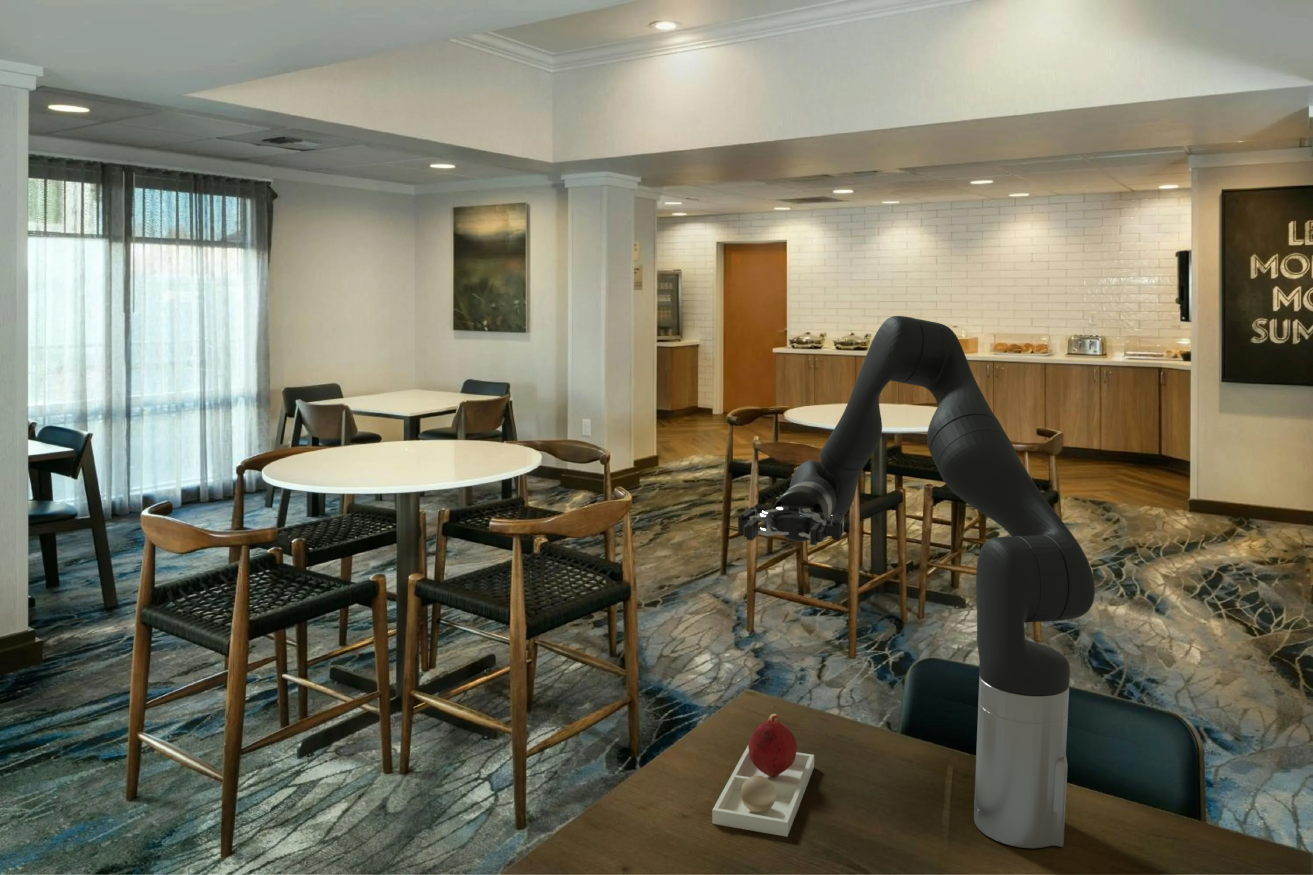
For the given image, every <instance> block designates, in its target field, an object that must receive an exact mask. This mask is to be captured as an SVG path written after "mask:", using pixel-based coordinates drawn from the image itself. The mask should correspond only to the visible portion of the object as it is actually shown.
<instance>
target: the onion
mask: <svg viewBox="0 0 1313 875" xmlns="http://www.w3.org/2000/svg"><path fill="white" fill-rule="evenodd" d="M748 745H749V746H748ZM748 745H747V746H748V749H749V755H750V758H751V760H752V762H753V764H754V765H755V766H756V767H757V768H758V769H759V770H760V771H761V772H763V773H764V774H766V775H768V776H770V777H777V776H778V775H779V774H781V773H782V772H784V771H785V770H787V769H788V768H789V767H790V766H791V765H792V764H793V762H794V760H795V757H796V752H798V746H797V741H796V738H795V736H794V735H793V733H792V732H791V730H790V729H789V728H788V727H787V726H786V725H785V724H784V723H782V722H780V716H779V715H778V714H776V713H771V714H770V715H769V717H768V718H767V719H766V721H764V722H762V723H760V724H759V725H757V727H756V728H755V729H754V730H753V732H752V734H751V736H750V738H749V741H748Z"/></svg>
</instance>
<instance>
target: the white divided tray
mask: <svg viewBox="0 0 1313 875" xmlns="http://www.w3.org/2000/svg"><path fill="white" fill-rule="evenodd" d="M748 746H749V744H748V745H747V746H746V747H745V748H746V749H745V750H744V752H743V753H742V755H741V756H740V759H739V761H738V763H737V764H736V766H735V768H734V770H733V771H732V773H731V775H730V777H729V779H728V780H727V782H726V784H725V787H724V788H723V790H722V792H721V793H720V795H719V797H718V799H717V801H716V802H715V805H714V807H713V808H712V813H711V816H712V818H711V819H712V820H711V823H712V824H714V825H717V826H718V825H719V826H724V827H731V828H737V829H741V830H748V831H753V832H758V833H764V834H770V835H776V836H782V837H787V838H788V836H789V834H790V831H791V828H792V826H793V823H794V820H795V818H796V816H797V813H798V811H799V808H800V805H801V803H802V802H801V801H802V799H803V798H804V795H805V792H806V790H807V787H808V784H809V782H810V779H811V776H812V774H813V770H814V768H815V754H811V753H810V754H809V753H803V752H798V751H796V757H795V760H794V762H793V764H792V765H791V766H790V767H789V768H788V769H787V770H785V771H784V772H782V773H781V774H779V775H778V776H777V777H770V776H768V775H766V774H764V773H763V772H761V771H760V770H759V769H758V768H757V767H756V766H755V765H754V764H753V762H752V760H751V758H750V755H749V749H748ZM752 776H763V777H766V778H767V779H769V780H770V781H771V782H772V784H773V785H774V787H775V791H776V799H775V802H774V804H773V806H772V807H771V808H770V809H769V810H767V811H765V812H762V813H756V812H753V811H750V810H749V809H748V808H747V807H746V806H745V805H744V803H743V801H742V799H741V788H742V786H743V784H744V782H745V781H746V780H747V779H748V778H750V777H752Z"/></svg>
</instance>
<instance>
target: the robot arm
mask: <svg viewBox="0 0 1313 875" xmlns="http://www.w3.org/2000/svg"><path fill="white" fill-rule="evenodd" d="M891 381H892V382H897V383H901V384H905V385H906V384H907V385H912V386H918V387H923V388H925V389H927V390H928V391H929V393H931V394H932V396H933V397H934V399H935V402H936V404H937V408H936V410H935V411H934V413H933V416H932V418H931V419H930V423H929V425H928V428H927V433H926V434H927V435H926V439H927V440H926V441H927V442H926V444H927V448H928V451H929V453H930V455H931V458H932V460H933V462H934V465H935V466H936V468H937V470H938V472H939V475H940V476H941V478H942V480H943V482H944V483H945V484H946V486H947V487H948V489H949V490H950V491H951V492H952V493H954V494H955V495H956V496H957V497H958V498H960V499H961V500H962V501H963V502H965V503H966V504H967V505H969V506H970V507H972V508H974V509H975V510H976V511H978V512H979V513H981V514H983V515H984V516H985V517H988V518H989V519H991V520H992V521H993V522H995V523H996V524H998V525H999V526H1000V527H1002V528H1003V529H1004V531H1006V532H1007V533H1008V534H1009V535H1010V536H997V537H992V538H989V539H988V540H986V541H985V542H984V543H983V545H982V546H981V549H980V551H979V553H978V557H977V562H976V570H975V571H976V572H975V575H976V576H975V581H976V582H975V590H976V591H975V592H976V643H977V644H976V645H977V653H978V659H979V661H978V662H979V669H978V670H979V679H978V680H979V681H978V703H977V706H978V707H977V730H976V754H975V755H976V756H975V777H974V778H975V782H974V798H973V809H974V810H973V820H974V824H975V826H976V827H977V829H978V830H979V831H981V833H982V834H984V835H985V836H987V837H989V838H991V839H992V840H994V841H996V842H999V843H1002V844H1004V845H1008V846H1012V847H1017V848H1022V849H1041V848H1047V847H1052V846H1053V847H1055V846H1056V847H1064V842H1065V841H1064V840H1065V839H1064V838H1065V824H1066V821H1065V820H1066V803H1067V802H1066V800H1067V787H1068V786H1067V785H1068V784H1067V781H1068V760H1067V740H1068V739H1067V738H1068V721H1069V720H1068V719H1069V718H1068V715H1069V696H1070V682H1071V680H1070V678H1071V667H1070V663H1069V661H1068V659H1067V657H1066V656H1064V655H1063V654H1062V653H1060V652H1059V651H1057V650H1055V649H1054V648H1052V647H1049V646H1047V645H1044V644H1041V643H1038V642H1034V641H1031V640H1028V639H1026V636H1025V623H1040V622H1041V623H1043V622H1059V621H1068V620H1073V619H1074V620H1075V619H1077V618H1080V617H1082V616H1084V615H1086V614H1087V613H1088V612H1089V611H1090V610H1091V608H1092V606H1093V604H1094V600H1095V594H1096V587H1095V580H1094V579H1095V578H1094V575H1093V572H1092V568H1091V565H1090V562H1089V559H1088V558H1087V556H1086V554H1085V551H1084V550H1083V548H1082V547H1081V544H1080V543H1079V542H1078V541H1077V539H1076V537H1075V536H1074V535H1073V533H1072V532H1071V531H1070V529H1069V528H1068V527H1067V525H1066V524H1065V523H1064V522H1063V520H1062V519H1061V518H1060V516H1059V515H1058V514H1057V512H1056V511H1055V510H1054V509H1053V507H1052V506H1051V504H1050V503H1049V502H1048V501H1047V499H1046V498H1045V496H1044V495H1043V494H1042V492H1041V491H1040V489H1039V488H1038V486H1037V485H1036V483H1035V481H1034V480H1033V478H1032V477H1031V475H1030V474H1029V472H1028V471H1027V469H1026V468H1025V466H1024V464H1023V462H1022V461H1021V459H1020V457H1019V455H1018V453H1017V451H1016V449H1015V447H1014V446H1013V444H1012V442H1011V440H1010V438H1009V436H1008V435H1007V433H1006V431H1005V430H1004V428H1003V426H1002V424H1001V423H1000V420H998V419H997V417H996V416H995V414H994V412H993V410H992V409H991V408H990V405H989V403H988V402H987V400H986V397H985V396H984V394H983V391H982V390H981V388H980V387H979V384H978V382H977V381H976V378H975V377H974V375H973V372H972V370H971V367H970V364H969V361H968V358H967V356H966V354H965V352H964V348H963V346H962V344H961V342H960V340H959V337H958V336H957V335H956V333H955V332H954V331H953V329H951V328H950V327H949V326H947V325H945V324H943V323H939V322H935V321H930V320H925V319H920V318H914V317H910V316H905V315H904V316H903V315H893V316H889V317H888V318H887V319H885V321H883V323H882V324H881V325H880V327H879V328H878V330H877V331H876V333H875V335H874V337H873V339H872V341H871V343H870V345H869V348H868V351H867V353H866V355H865V358H864V361H863V363H862V366H861V368H860V371H859V373H858V374H857V378H856V380H855V382H854V383H855V384H854V386H853V388H852V390H851V391H852V392H851V394H850V397H849V399H848V402H847V405H846V406H845V408H844V411H843V413H842V415H841V416H840V419H839V420H838V423H837V424H836V426H835V428H834V429H833V430H832V432H831V434H830V435H829V437H828V439H827V440H826V442H825V443H824V445H823V446H822V449H821V451H820V455H819V456H820V457H819V458H820V461H821V462H820V461H817V460H815V459H814V460H813V459H811V460H806V461H805V462H802V463H801V464H800V465H799V466H798V467H797V469H796V470H795V471H794V473H793V474H792V477H791V480H790V483H789V488H788V489H787V490H786V491H785V492H784V493H783V494H782V495H781V496H779V498H778V499H777V500H776V501H775V504H774V506H773V507H772V508H771V509H767V510H762V511H761V512H760V513H758V510H757V507H754V506H753V507H752V506H751V507H748V508H746V509H745V510H743V511H742V512H740V513H739V514H738V515H737V532H738V533H739V534H743V537H745V538H746V540H747V541H751V542H752V541H754V540H755V539H756V538H757V537H758V536H759V535H761V536H762V535H763V536H766V537H773V536H777V535H778V536H779V535H782V536H783V537H784V538H786V539H788V540H790V541H793V542H806V541H809V542H810V543H809V544H810V546H817V545H818V543H822V542H824V541H826V540H828V539H827V538H828V537H831V539H832V540H834V541H839V540H842V536H843V534H844V532H845V531H844V530H845V529H844V528H845V515H846V514H847V512H849V510H850V508H851V507H852V504H853V501H854V499H855V496H856V491H857V486H858V483H859V482H858V481H859V478H860V475H861V474H862V471H863V469H864V467H865V466H866V465H867V463H868V461H869V460H870V459H871V457H872V455H874V453H875V451H876V449H877V448H878V446H879V443H880V441H881V438H882V433H883V423H882V422H883V420H882V415H881V408H880V396H881V393H882V391H883V390H884V389H885V387H887V385H888V384H889V382H891ZM759 523H760V528H759Z"/></svg>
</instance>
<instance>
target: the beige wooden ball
mask: <svg viewBox="0 0 1313 875" xmlns="http://www.w3.org/2000/svg"><path fill="white" fill-rule="evenodd" d="M741 799H742V801H743V803H744V805H745V806H746V807H747V808H748V809H749V810H750V811H753V812H756V813H762V812H765V811H767V810H769V809H770V808H771V807H772V806H773V804H774V802H775V799H776V791H775V787H774V785H773V784H772V782H771V781H770V780H769V779H767V778H766V777H763V776H752V777H750V778H748V779H747V780H746V781H745V782H744V784H743V786H742V788H741Z"/></svg>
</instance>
